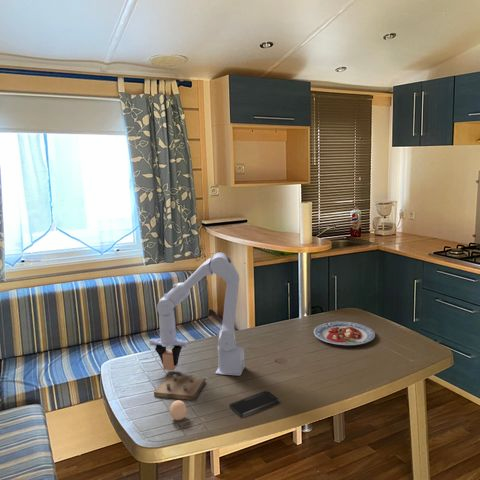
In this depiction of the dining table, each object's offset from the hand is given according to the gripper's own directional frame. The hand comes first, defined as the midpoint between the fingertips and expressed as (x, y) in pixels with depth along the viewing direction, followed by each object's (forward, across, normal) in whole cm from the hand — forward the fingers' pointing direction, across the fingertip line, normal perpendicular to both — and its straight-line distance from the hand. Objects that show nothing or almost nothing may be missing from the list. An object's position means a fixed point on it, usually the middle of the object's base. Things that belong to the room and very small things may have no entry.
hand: (170, 364), depth 161 cm
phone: (+4, +35, -16) cm, 39 cm away
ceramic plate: (+4, +63, +43) cm, 76 cm away
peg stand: (+3, +8, -11) cm, 14 cm away
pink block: (+2, 0, 0) cm, 2 cm away
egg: (+4, +14, -28) cm, 31 cm away
